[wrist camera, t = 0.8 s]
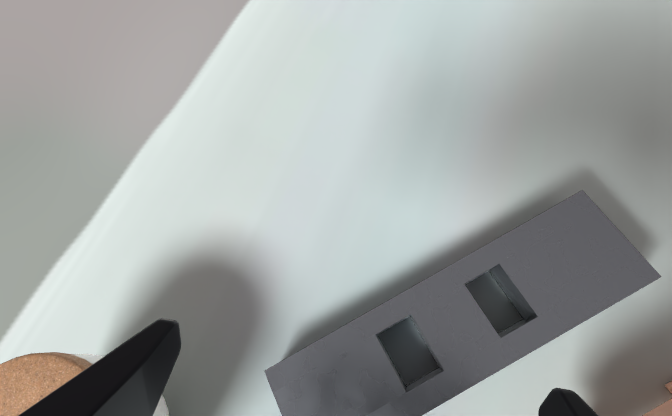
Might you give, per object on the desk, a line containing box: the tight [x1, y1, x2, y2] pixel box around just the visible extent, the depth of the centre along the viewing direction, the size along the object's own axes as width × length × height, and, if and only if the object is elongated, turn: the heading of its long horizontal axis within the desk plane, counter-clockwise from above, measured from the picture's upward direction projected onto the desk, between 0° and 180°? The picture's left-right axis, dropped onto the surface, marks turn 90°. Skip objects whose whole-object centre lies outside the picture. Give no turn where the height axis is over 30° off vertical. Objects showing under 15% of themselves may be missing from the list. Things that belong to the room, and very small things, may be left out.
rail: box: [265, 190, 661, 416], centre depth 22 cm, size 6×22×2 cm, turn 119°
